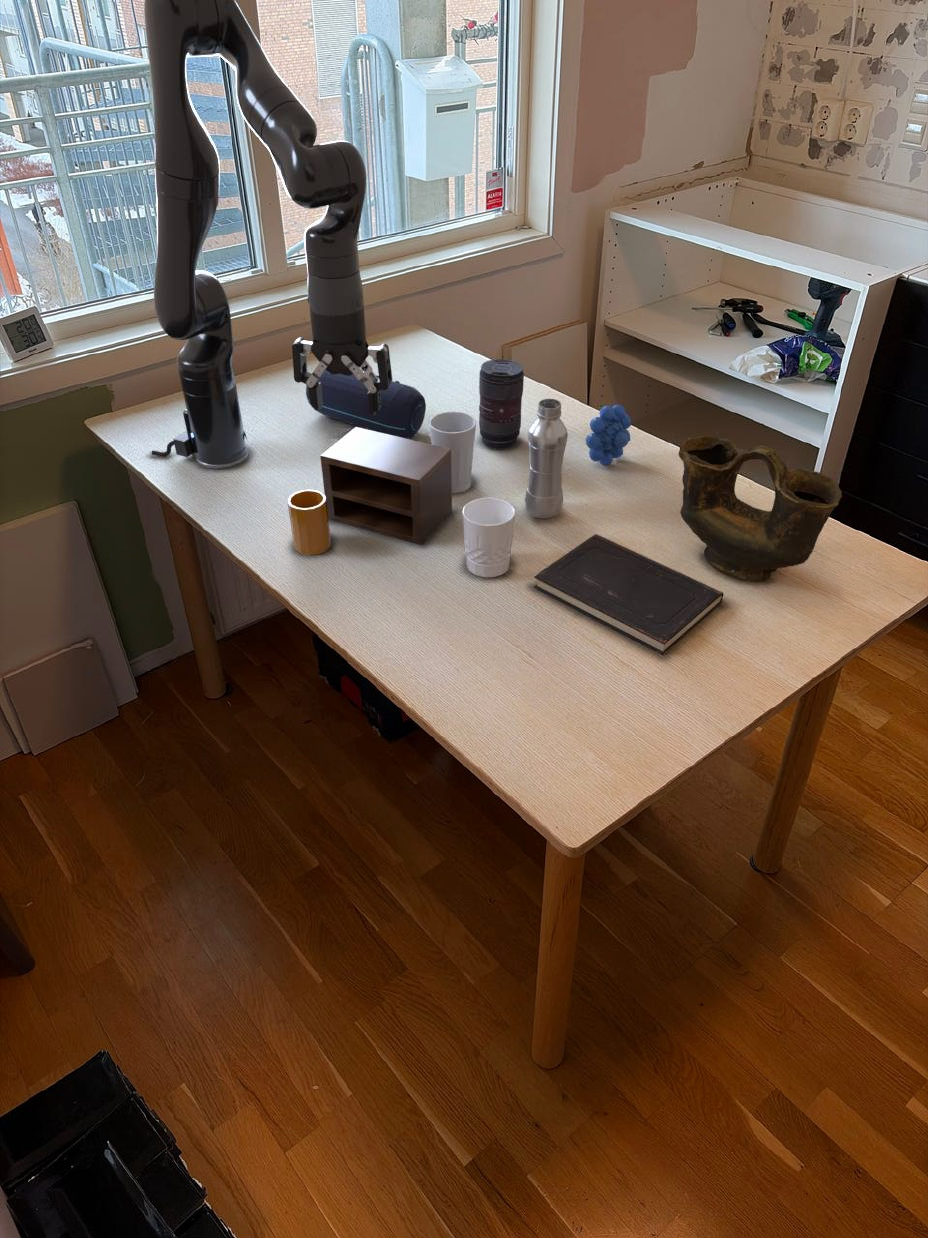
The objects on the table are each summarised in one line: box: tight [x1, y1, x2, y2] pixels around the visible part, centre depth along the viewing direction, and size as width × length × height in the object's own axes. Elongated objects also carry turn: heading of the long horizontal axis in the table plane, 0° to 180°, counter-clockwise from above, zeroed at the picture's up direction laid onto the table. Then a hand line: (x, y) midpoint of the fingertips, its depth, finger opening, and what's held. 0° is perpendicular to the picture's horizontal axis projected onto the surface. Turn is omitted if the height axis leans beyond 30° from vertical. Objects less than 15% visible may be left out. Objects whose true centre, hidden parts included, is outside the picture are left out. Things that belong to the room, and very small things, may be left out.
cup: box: [428, 411, 477, 494], centre depth 160 cm, size 8×8×12 cm
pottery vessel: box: [678, 434, 843, 582], centre depth 139 cm, size 25×11×20 cm, turn 49°
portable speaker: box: [305, 370, 427, 439], centre depth 178 cm, size 25×10×10 cm, turn 58°
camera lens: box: [478, 358, 525, 450], centre depth 171 cm, size 8×8×15 cm
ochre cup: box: [287, 489, 332, 556], centre depth 146 cm, size 6×6×8 cm
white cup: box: [462, 497, 516, 578], centre depth 141 cm, size 8×8×10 cm
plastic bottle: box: [524, 398, 569, 519], centre depth 150 cm, size 6×7×20 cm
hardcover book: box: [533, 533, 725, 656], centre depth 138 cm, size 16×23×2 cm
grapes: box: [585, 403, 632, 466], centre depth 165 cm, size 12×7×12 cm, turn 133°
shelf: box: [319, 426, 453, 546], centre depth 152 cm, size 18×11×12 cm, turn 64°
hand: (345, 410), depth 138 cm, fingers open, 8 cm apart
